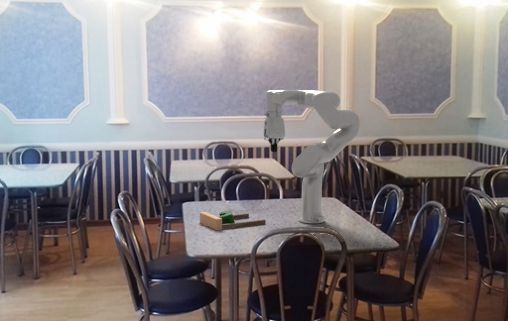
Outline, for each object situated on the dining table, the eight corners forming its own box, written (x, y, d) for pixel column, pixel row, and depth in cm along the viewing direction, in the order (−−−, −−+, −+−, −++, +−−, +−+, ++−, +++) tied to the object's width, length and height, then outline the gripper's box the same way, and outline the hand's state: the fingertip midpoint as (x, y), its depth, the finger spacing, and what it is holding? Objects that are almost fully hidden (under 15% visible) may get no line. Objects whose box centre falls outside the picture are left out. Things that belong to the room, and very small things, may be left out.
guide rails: (265, 224, 288) (265, 219, 288) (222, 229, 277) (222, 225, 277) (247, 217, 304) (247, 213, 303) (206, 221, 293) (206, 217, 292)
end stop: (222, 229, 277) (222, 218, 276) (216, 230, 275) (216, 219, 275) (205, 222, 293) (205, 211, 292) (199, 222, 291) (199, 212, 291)
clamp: (223, 231, 292) (219, 213, 295) (235, 228, 293) (231, 210, 295) (222, 227, 281) (217, 208, 283) (235, 223, 281) (230, 205, 284)
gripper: (264, 115, 297) (264, 153, 299) (290, 115, 304) (290, 151, 306) (257, 115, 304) (257, 151, 306) (282, 114, 311) (282, 150, 313)
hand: (273, 151), depth 306 cm, fingers closed
